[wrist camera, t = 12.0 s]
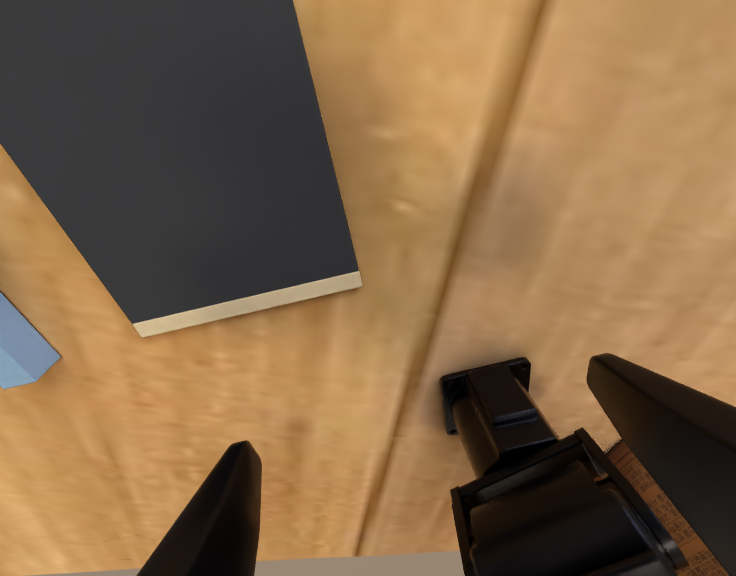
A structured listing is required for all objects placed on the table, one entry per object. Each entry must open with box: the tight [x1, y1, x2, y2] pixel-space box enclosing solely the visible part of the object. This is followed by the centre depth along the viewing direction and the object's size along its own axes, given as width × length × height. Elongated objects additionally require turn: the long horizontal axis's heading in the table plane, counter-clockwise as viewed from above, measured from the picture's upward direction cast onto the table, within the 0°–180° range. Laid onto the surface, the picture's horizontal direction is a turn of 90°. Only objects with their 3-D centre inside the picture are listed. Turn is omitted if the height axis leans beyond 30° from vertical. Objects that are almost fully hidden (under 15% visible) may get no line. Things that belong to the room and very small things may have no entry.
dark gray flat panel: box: [0, 0, 362, 338], centre depth 14 cm, size 18×13×1 cm
